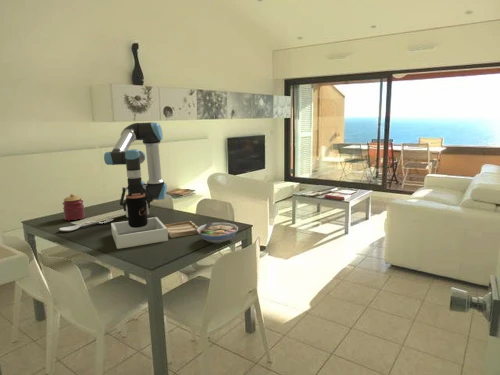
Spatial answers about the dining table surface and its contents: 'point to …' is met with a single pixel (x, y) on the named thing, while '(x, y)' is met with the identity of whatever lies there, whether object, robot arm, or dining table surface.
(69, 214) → the canister
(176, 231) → the tray
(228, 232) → the ramen bowl
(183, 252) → the dining table surface
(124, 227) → the crate
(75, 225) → the spoon
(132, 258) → the dining table surface
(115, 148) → the robot arm
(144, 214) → the coffee jar
